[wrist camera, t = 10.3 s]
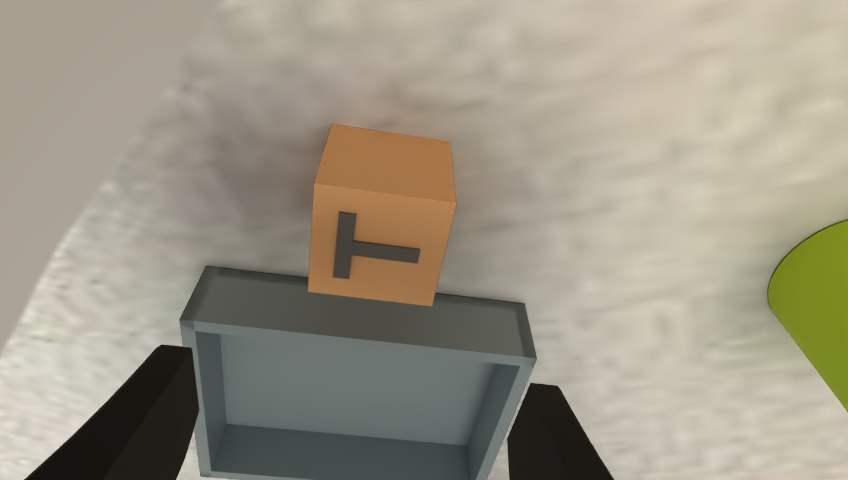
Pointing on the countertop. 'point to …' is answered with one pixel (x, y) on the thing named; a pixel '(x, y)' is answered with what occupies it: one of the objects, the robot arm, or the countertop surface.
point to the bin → (350, 381)
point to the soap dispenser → (817, 303)
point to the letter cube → (381, 216)
